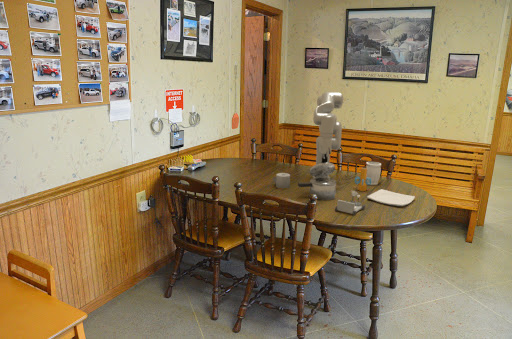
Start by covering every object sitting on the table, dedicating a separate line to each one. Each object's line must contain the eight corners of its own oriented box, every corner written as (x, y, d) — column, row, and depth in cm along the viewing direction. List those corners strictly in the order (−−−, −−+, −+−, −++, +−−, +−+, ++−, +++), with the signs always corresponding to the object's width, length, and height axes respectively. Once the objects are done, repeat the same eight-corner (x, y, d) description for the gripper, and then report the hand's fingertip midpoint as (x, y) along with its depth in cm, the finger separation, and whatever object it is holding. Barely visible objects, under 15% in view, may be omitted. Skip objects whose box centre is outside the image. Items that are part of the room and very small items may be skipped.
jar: (379, 186, 285) (382, 165, 282) (364, 184, 287) (366, 164, 284) (378, 182, 295) (380, 161, 292) (363, 180, 297) (365, 160, 294)
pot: (294, 193, 264) (295, 178, 262) (329, 191, 269) (330, 177, 267) (301, 201, 249) (302, 185, 246) (339, 199, 254) (340, 184, 251)
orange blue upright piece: (357, 192, 269) (359, 170, 265) (350, 188, 279) (352, 166, 275) (374, 191, 272) (376, 170, 268) (366, 187, 282) (368, 166, 278)
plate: (380, 192, 273) (380, 188, 272) (417, 200, 258) (417, 196, 257) (364, 200, 255) (364, 196, 254) (402, 210, 240) (403, 205, 239)
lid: (306, 177, 264) (305, 173, 266) (330, 177, 267) (329, 172, 269) (313, 164, 250) (312, 159, 252) (338, 163, 253) (337, 158, 255)
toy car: (349, 188, 245) (368, 192, 238) (348, 204, 248) (366, 208, 241) (335, 195, 231) (355, 199, 225) (334, 211, 234) (353, 216, 227)
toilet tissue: (274, 183, 285) (274, 171, 283) (291, 186, 279) (292, 174, 277) (268, 186, 277) (268, 174, 275) (286, 189, 271) (287, 177, 269)
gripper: (316, 133, 256) (314, 161, 261) (324, 137, 242) (322, 167, 247) (327, 133, 258) (325, 161, 263) (336, 137, 244) (334, 167, 248)
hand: (324, 164), depth 255 cm, fingers closed
